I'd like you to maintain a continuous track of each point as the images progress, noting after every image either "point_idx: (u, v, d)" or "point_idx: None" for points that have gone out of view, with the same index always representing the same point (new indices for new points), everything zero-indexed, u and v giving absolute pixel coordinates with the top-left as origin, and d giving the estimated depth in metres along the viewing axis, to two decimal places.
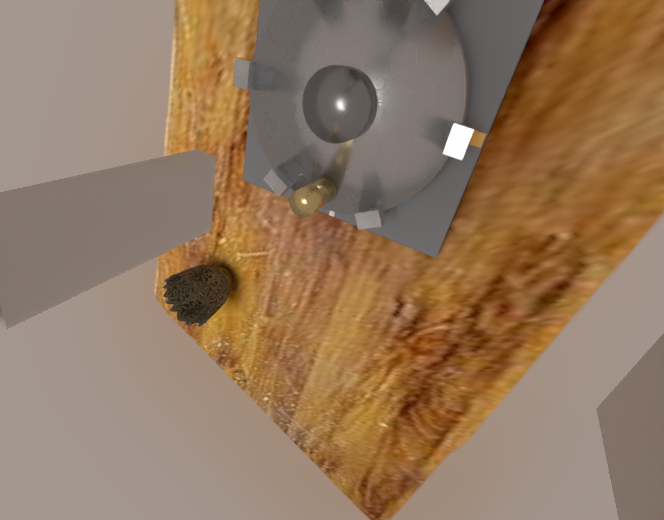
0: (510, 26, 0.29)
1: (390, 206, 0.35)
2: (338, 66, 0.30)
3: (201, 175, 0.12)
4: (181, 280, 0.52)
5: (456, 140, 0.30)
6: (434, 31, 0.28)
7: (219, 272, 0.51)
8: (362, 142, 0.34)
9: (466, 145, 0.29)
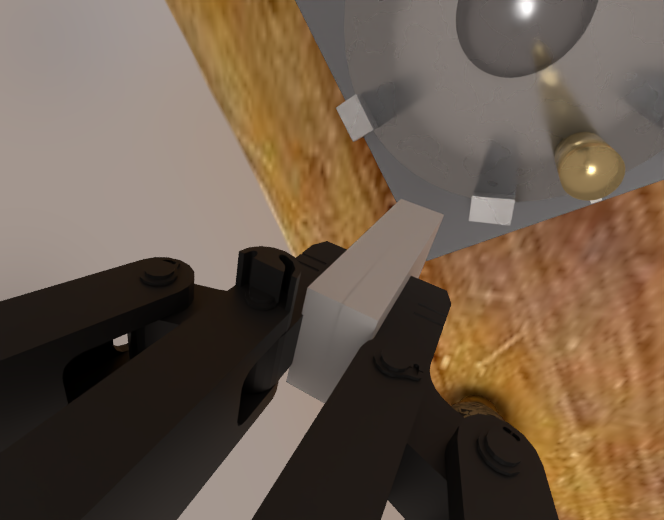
0: None
1: None
2: None
3: None
4: None
5: None
6: None
7: (476, 405, 0.33)
8: (595, 31, 0.19)
9: None
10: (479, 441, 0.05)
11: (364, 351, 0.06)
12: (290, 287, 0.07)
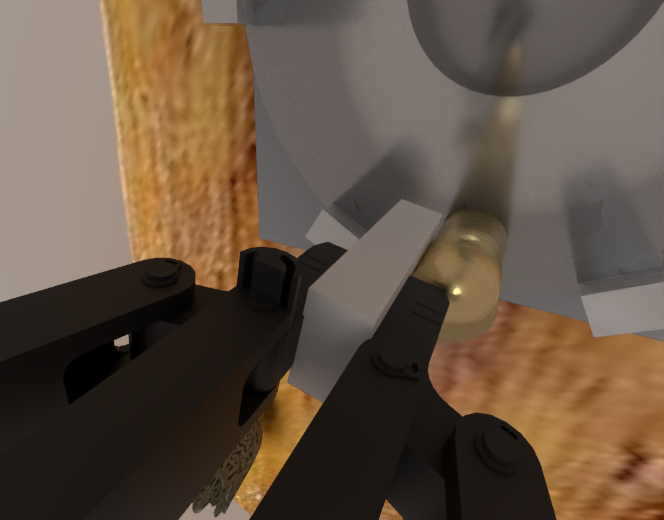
0: None
1: None
2: None
3: None
4: None
5: None
6: None
7: None
8: (598, 85, 0.11)
9: None
10: (476, 440, 0.05)
11: (362, 350, 0.06)
12: (291, 288, 0.07)
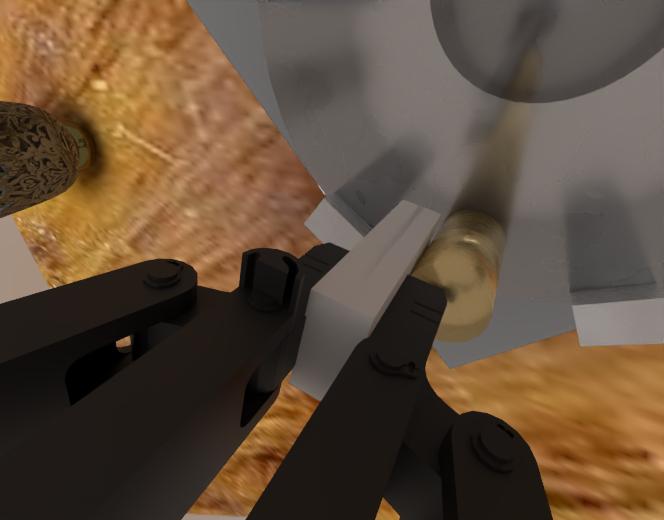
0: None
1: None
2: None
3: None
4: None
5: None
6: None
7: (65, 142, 0.26)
8: (611, 98, 0.11)
9: None
10: (473, 438, 0.05)
11: (360, 349, 0.06)
12: (294, 289, 0.07)
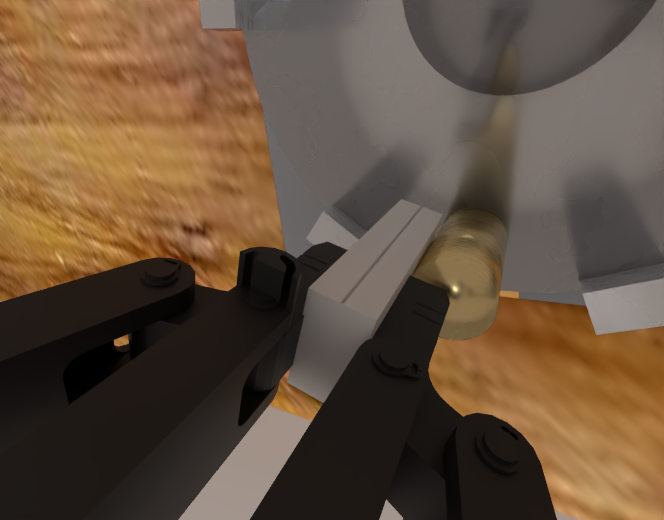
0: None
1: None
2: None
3: None
4: None
5: None
6: None
7: None
8: (594, 82, 0.11)
9: None
10: (477, 440, 0.05)
11: (363, 350, 0.06)
12: (291, 287, 0.07)
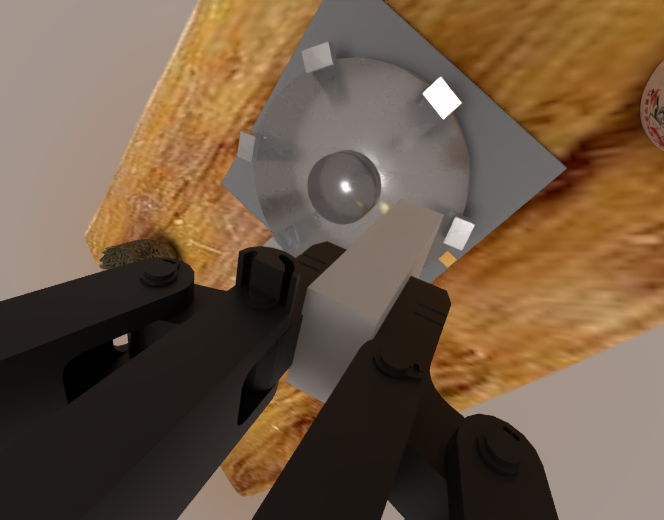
0: (512, 189, 0.32)
1: (462, 204, 0.31)
2: (314, 165, 0.32)
3: None
4: (123, 248, 0.49)
5: (439, 98, 0.28)
6: (344, 74, 0.30)
7: (166, 254, 0.50)
8: (387, 191, 0.33)
9: (450, 91, 0.27)
10: (479, 441, 0.05)
11: (364, 351, 0.06)
12: (290, 287, 0.07)
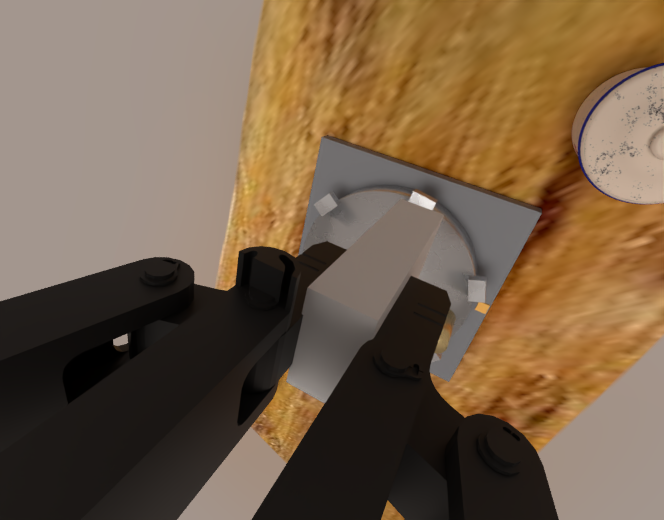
0: (508, 240, 0.39)
1: (470, 267, 0.38)
2: None
3: None
4: None
5: (419, 205, 0.37)
6: (348, 207, 0.41)
7: None
8: None
9: (424, 198, 0.36)
10: (479, 441, 0.05)
11: (364, 351, 0.06)
12: (290, 287, 0.07)
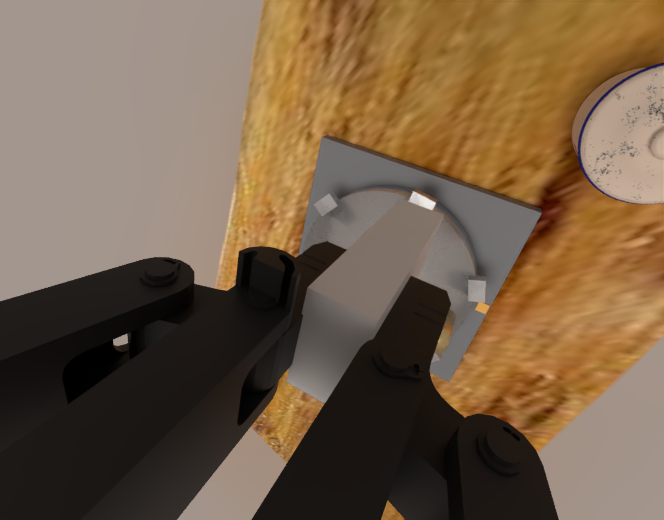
0: (508, 240, 0.39)
1: (470, 267, 0.38)
2: None
3: None
4: None
5: (419, 204, 0.37)
6: (348, 207, 0.41)
7: None
8: None
9: (424, 198, 0.36)
10: (479, 441, 0.05)
11: (364, 351, 0.06)
12: (290, 287, 0.07)
